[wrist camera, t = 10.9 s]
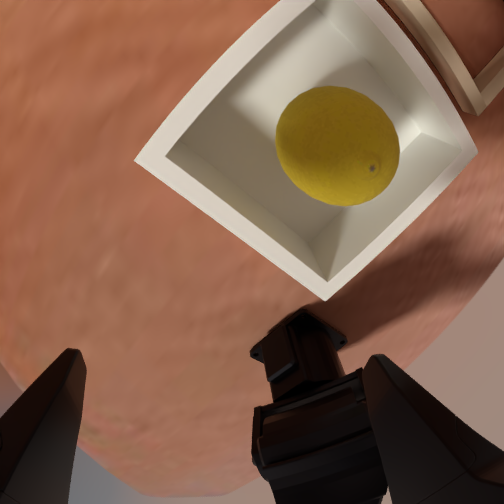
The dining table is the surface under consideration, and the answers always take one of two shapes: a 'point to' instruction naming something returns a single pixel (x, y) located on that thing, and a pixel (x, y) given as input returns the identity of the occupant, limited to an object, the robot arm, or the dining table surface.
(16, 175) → the dining table surface
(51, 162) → the dining table surface
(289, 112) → the lemon
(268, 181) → the bin
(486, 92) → the rectangular frame
